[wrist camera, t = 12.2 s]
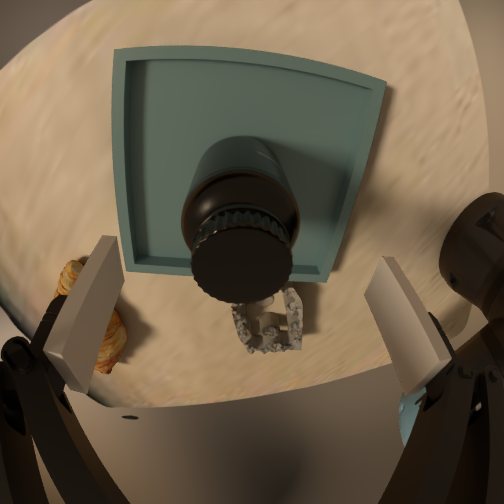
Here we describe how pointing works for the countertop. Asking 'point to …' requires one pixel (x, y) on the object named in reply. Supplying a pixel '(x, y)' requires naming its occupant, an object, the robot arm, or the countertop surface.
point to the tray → (236, 124)
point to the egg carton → (272, 325)
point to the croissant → (115, 330)
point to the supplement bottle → (240, 221)
